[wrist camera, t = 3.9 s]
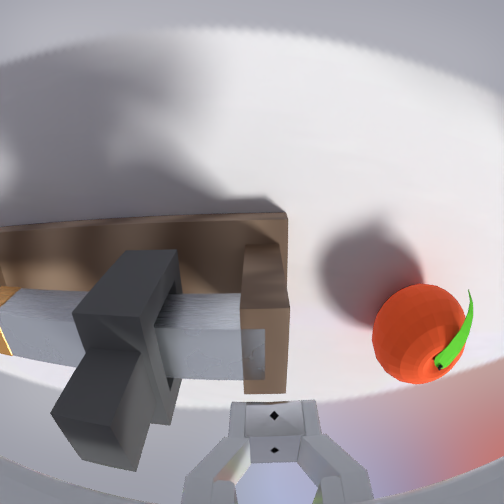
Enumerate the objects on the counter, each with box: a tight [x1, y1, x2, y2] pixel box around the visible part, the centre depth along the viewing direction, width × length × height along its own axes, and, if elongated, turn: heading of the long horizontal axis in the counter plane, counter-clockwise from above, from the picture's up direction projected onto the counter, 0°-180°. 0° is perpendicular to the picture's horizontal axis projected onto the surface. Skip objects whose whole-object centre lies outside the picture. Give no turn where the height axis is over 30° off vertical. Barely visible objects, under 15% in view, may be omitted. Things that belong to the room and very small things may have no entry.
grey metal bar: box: [0, 286, 265, 380], centre depth 15 cm, size 22×3×3 cm, turn 91°
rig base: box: [0, 212, 290, 394], centre depth 18 cm, size 25×8×8 cm, turn 91°
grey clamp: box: [50, 249, 183, 472], centre depth 13 cm, size 3×6×10 cm, turn 2°
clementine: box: [372, 284, 473, 384], centre depth 19 cm, size 8×7×7 cm
